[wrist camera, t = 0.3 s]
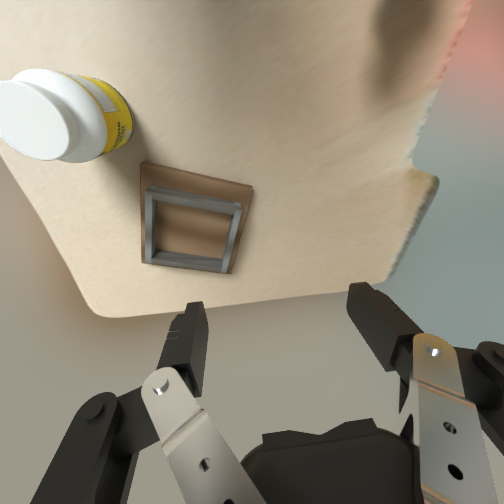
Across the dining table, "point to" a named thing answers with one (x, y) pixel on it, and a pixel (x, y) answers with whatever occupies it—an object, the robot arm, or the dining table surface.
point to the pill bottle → (63, 116)
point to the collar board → (190, 218)
